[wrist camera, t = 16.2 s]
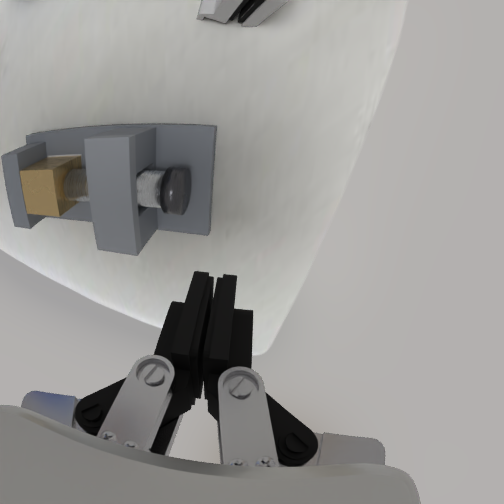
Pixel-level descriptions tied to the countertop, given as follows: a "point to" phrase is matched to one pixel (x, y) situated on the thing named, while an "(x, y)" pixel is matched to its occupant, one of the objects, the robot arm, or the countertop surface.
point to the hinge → (230, 3)
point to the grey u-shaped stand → (122, 178)
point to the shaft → (143, 188)
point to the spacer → (48, 185)
